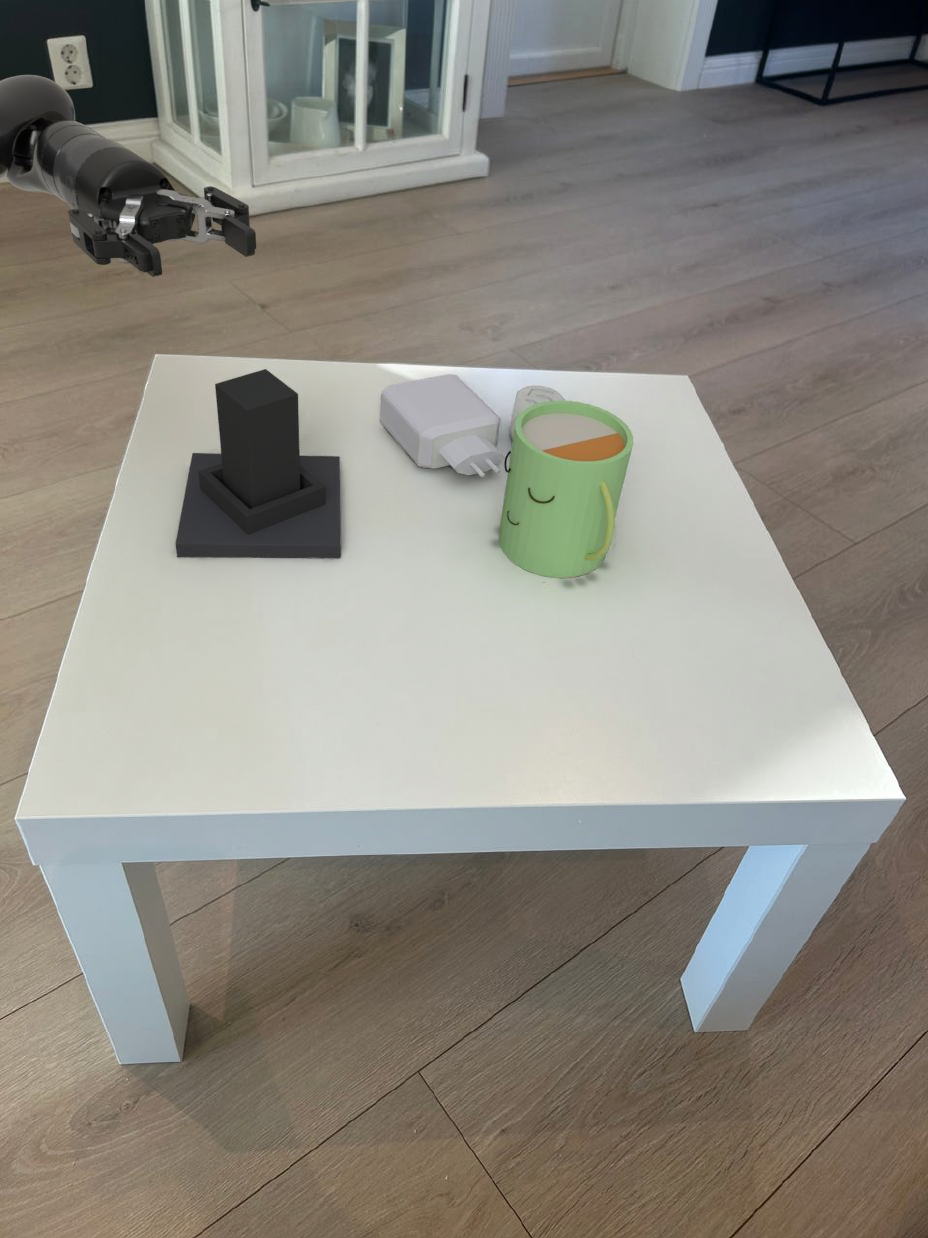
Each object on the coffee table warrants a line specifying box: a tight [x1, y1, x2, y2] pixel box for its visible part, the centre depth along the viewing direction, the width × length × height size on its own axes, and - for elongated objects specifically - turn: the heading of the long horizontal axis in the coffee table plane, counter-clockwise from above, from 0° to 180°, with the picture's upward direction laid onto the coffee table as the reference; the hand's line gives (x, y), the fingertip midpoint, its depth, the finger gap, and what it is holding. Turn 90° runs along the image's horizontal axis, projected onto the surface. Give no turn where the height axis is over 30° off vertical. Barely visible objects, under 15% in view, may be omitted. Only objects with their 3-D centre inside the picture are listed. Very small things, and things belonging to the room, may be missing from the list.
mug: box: [498, 400, 634, 579], centre depth 85 cm, size 13×10×12 cm
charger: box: [379, 373, 505, 478], centre depth 97 cm, size 5×9×15 cm
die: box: [508, 385, 566, 441], centre depth 101 cm, size 5×5×5 cm
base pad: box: [175, 452, 342, 559], centre depth 88 cm, size 14×14×4 cm
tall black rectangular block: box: [214, 368, 301, 509], centre depth 85 cm, size 5×5×11 cm
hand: (205, 254), depth 79 cm, fingers open, 8 cm apart
